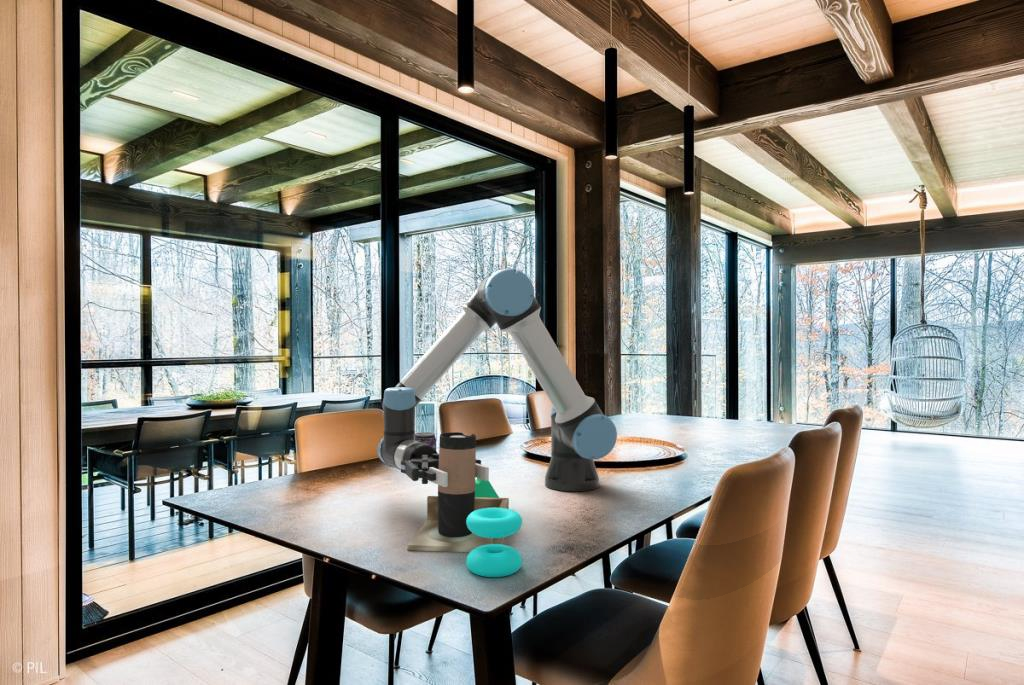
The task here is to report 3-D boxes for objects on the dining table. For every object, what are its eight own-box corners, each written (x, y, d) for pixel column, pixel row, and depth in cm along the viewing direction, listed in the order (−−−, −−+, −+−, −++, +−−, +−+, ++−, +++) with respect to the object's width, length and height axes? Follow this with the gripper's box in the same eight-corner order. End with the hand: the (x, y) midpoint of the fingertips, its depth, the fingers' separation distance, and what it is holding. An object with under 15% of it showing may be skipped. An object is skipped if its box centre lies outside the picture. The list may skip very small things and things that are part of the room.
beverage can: (420, 476, 185) (420, 436, 185) (408, 472, 190) (408, 433, 190) (440, 473, 189) (440, 434, 189) (428, 469, 195) (428, 431, 195)
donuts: (458, 518, 107) (476, 504, 116) (458, 576, 107) (476, 557, 116) (514, 523, 104) (528, 507, 114) (514, 582, 104) (527, 562, 114)
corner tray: (508, 525, 136) (508, 498, 136) (499, 553, 118) (499, 522, 118) (428, 522, 138) (428, 495, 138) (407, 550, 120) (407, 519, 120)
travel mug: (440, 538, 122) (442, 437, 122) (434, 527, 130) (436, 432, 130) (477, 536, 124) (480, 437, 125) (469, 525, 132) (472, 431, 132)
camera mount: (490, 503, 155) (490, 462, 155) (501, 511, 148) (501, 468, 148) (444, 508, 151) (444, 466, 150) (452, 516, 143) (452, 472, 143)
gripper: (458, 469, 148) (511, 488, 129) (372, 481, 136) (417, 503, 117) (458, 438, 148) (511, 452, 129) (372, 447, 136) (417, 464, 117)
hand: (466, 476), depth 123 cm, fingers open, 9 cm apart
